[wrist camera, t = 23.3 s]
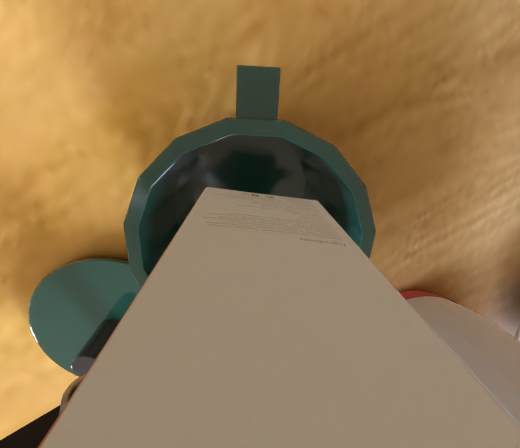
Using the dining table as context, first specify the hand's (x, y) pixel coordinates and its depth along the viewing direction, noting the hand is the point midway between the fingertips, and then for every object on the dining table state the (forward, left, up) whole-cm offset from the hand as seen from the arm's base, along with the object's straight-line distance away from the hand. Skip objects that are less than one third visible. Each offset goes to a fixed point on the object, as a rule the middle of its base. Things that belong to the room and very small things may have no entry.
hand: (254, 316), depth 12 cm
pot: (0, 0, -16) cm, 16 cm away
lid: (-15, -14, -15) cm, 26 cm away
